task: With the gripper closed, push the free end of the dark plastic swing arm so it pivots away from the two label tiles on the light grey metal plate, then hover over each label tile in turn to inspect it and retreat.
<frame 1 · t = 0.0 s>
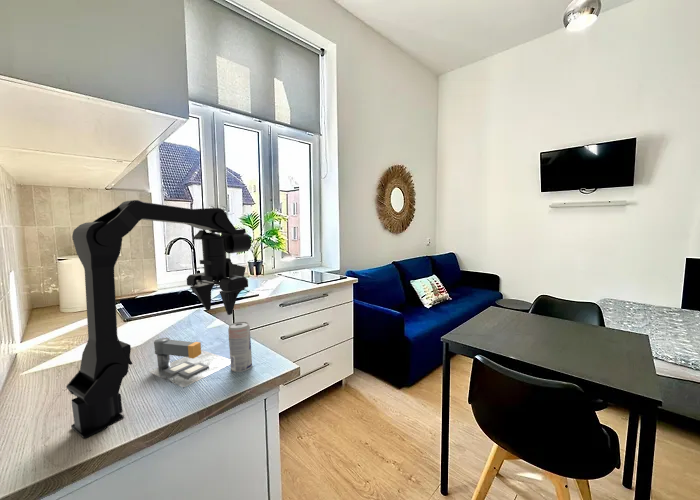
hand: (218, 312, 83), 15 cm above the worktop, tool pointing down, fingers open, 9 cm apart
swing arm: (176, 347, 80), point 6 cm above the worktop, hinge at 0.0°
label tile 2: (179, 369, 81), resting on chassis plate
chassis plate: (193, 367, 82), on the worktop
label tile 1: (193, 370, 80), resting on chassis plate
energy drink: (241, 369, 81), on the worktop
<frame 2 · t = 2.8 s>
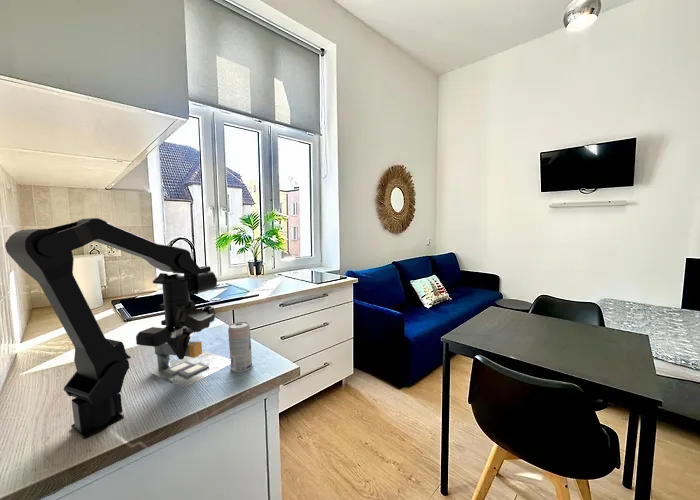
hand: (181, 359, 77), 5 cm above the worktop, tool pointing down, fingers closed
swing arm: (177, 347, 81), point 6 cm above the worktop, hinge at 1.7°, touching gripper
everything else where it was.
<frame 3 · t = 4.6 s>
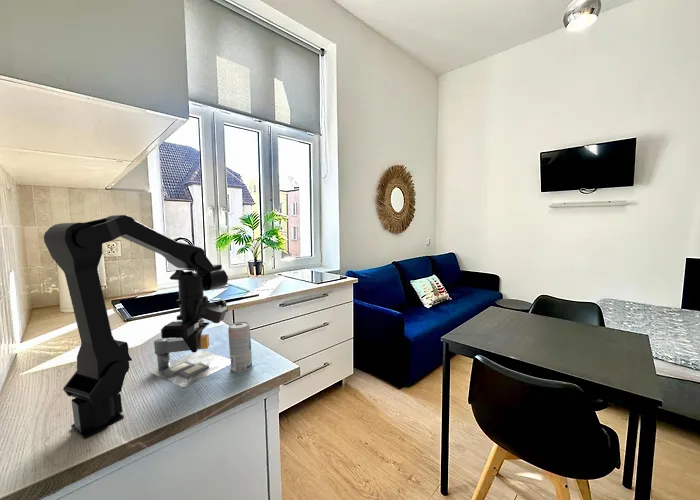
hand: (194, 352, 81), 5 cm above the worktop, tool pointing down, fingers closed
swing arm: (181, 344, 83), point 6 cm above the worktop, hinge at 29.5°, touching gripper
everything else where it was.
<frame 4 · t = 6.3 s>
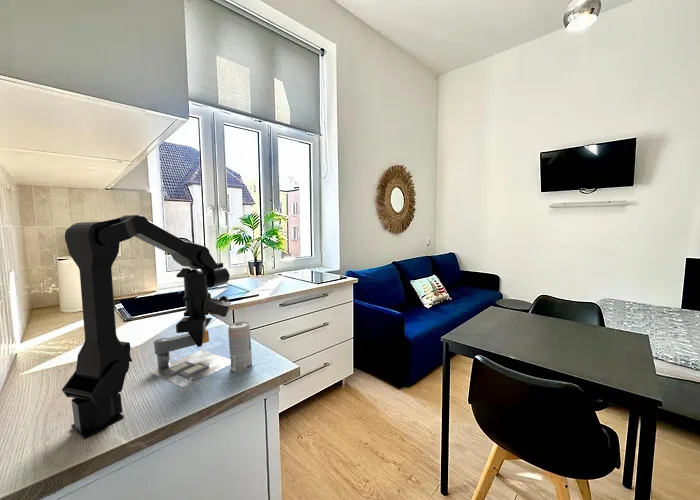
hand: (199, 346, 85), 5 cm above the worktop, tool pointing down, fingers closed
swing arm: (182, 341, 85), point 6 cm above the worktop, hinge at 55.4°, touching gripper
everything else where it was.
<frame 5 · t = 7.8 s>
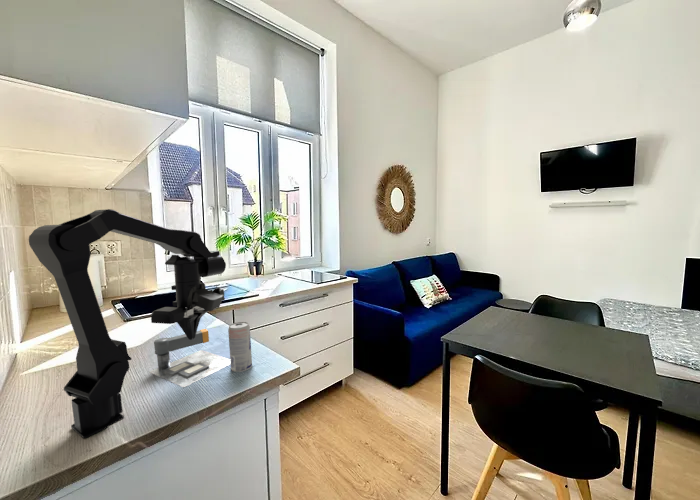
hand: (191, 339, 79), 9 cm above the worktop, tool pointing down, fingers closed
swing arm: (182, 341, 85), point 6 cm above the worktop, hinge at 56.1°
everything else where it was.
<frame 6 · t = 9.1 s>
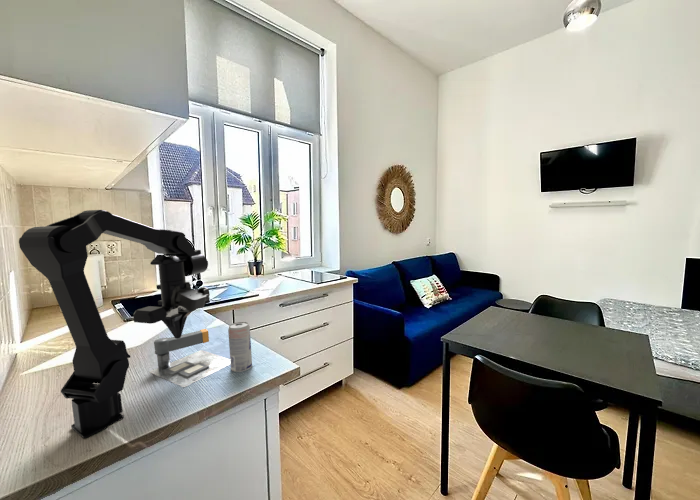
hand: (178, 338, 80), 9 cm above the worktop, tool pointing down, fingers closed
nothing on the worktop moved.
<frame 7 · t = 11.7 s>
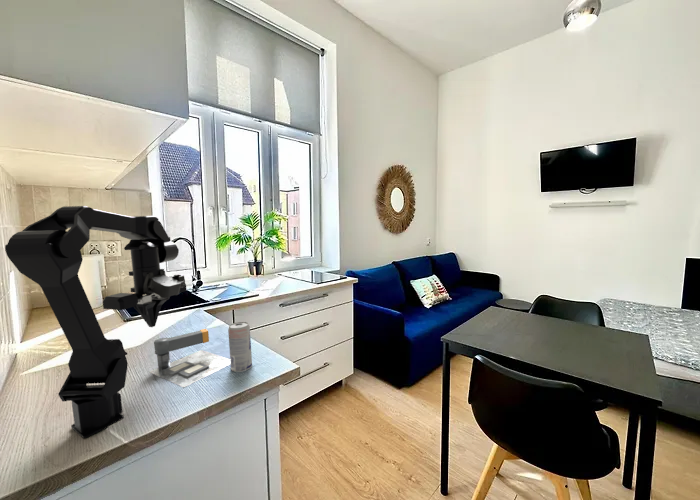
hand: (152, 326, 77), 13 cm above the worktop, tool pointing down, fingers closed
nothing on the worktop moved.
at the end: swing arm at +56° (first picture: +0°); energy drink moved 0.2 cm from its start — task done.
